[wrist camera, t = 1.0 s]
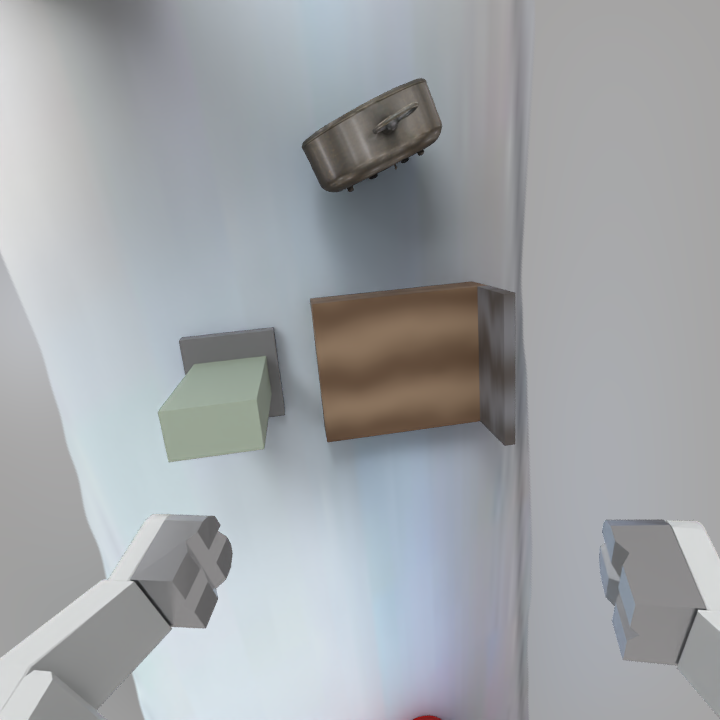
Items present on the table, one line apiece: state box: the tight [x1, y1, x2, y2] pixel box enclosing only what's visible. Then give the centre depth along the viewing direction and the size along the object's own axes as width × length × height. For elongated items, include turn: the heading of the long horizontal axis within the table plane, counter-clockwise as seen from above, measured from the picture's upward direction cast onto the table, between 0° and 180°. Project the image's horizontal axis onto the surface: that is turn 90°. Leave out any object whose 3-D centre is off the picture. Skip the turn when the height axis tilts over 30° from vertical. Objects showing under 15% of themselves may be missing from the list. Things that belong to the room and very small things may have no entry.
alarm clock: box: [302, 78, 442, 192], centre depth 37 cm, size 11×5×16 cm, turn 116°
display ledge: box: [310, 282, 515, 446], centre depth 46 cm, size 14×17×10 cm
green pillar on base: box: [158, 327, 285, 462], centre depth 42 cm, size 9×9×14 cm
